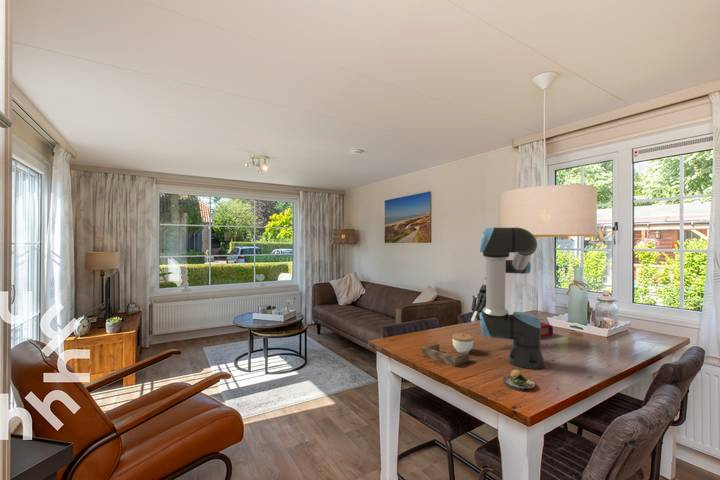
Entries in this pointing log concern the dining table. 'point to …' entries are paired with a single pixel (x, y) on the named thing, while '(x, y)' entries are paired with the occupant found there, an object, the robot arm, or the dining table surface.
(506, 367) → the dining table surface
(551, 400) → the dining table surface
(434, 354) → the u-shaped bracket
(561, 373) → the dining table surface
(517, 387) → the plate of food
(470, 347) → the lidded jar
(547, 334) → the book
